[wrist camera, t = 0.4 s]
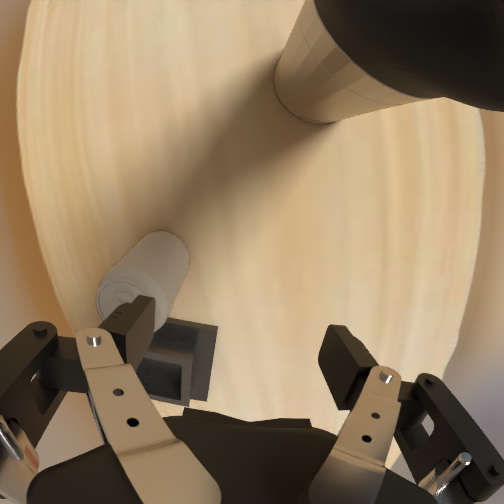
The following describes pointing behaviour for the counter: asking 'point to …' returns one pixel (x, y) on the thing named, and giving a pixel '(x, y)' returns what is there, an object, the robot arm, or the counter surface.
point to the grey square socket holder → (178, 362)
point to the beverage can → (146, 275)
